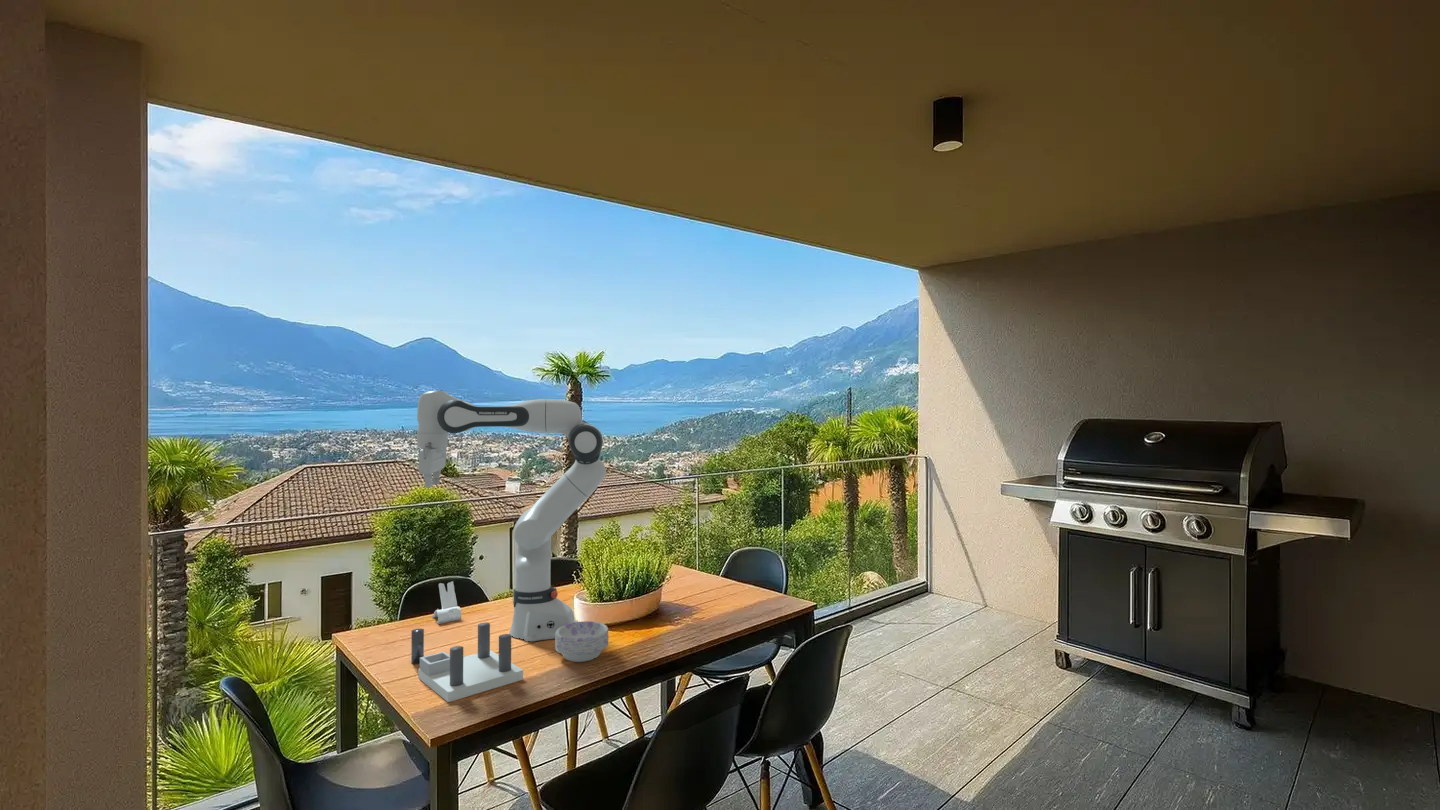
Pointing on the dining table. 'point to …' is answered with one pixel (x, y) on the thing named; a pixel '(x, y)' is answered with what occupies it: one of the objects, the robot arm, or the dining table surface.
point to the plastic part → (447, 605)
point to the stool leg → (417, 645)
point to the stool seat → (470, 668)
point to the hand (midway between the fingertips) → (432, 485)
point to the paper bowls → (581, 640)
